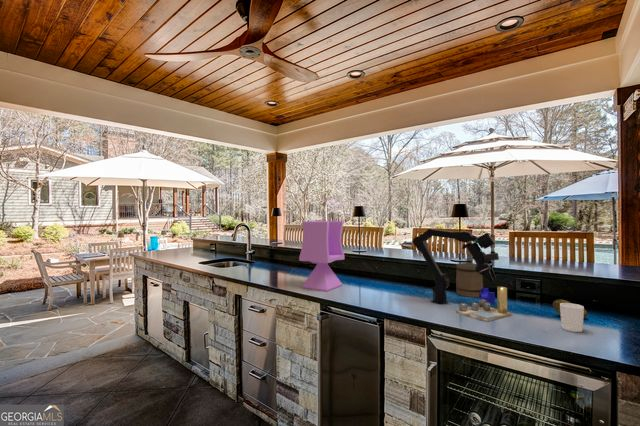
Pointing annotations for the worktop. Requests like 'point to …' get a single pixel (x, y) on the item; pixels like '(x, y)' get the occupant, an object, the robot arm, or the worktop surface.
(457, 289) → the wooden container
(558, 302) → the potato
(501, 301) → the tall brass spacer
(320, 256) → the purple pedestal chair
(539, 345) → the worktop surface
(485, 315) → the grey flat square plate
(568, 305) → the white cup
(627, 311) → the worktop surface
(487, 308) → the short steel spacers
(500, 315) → the board
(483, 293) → the cable clip
